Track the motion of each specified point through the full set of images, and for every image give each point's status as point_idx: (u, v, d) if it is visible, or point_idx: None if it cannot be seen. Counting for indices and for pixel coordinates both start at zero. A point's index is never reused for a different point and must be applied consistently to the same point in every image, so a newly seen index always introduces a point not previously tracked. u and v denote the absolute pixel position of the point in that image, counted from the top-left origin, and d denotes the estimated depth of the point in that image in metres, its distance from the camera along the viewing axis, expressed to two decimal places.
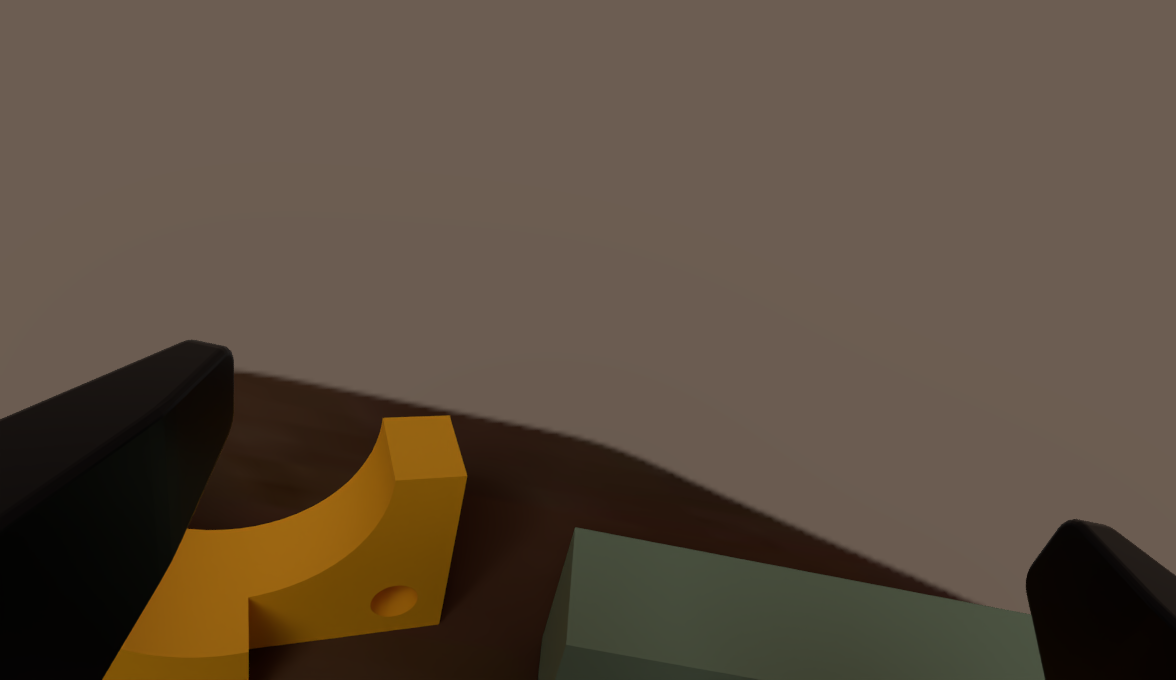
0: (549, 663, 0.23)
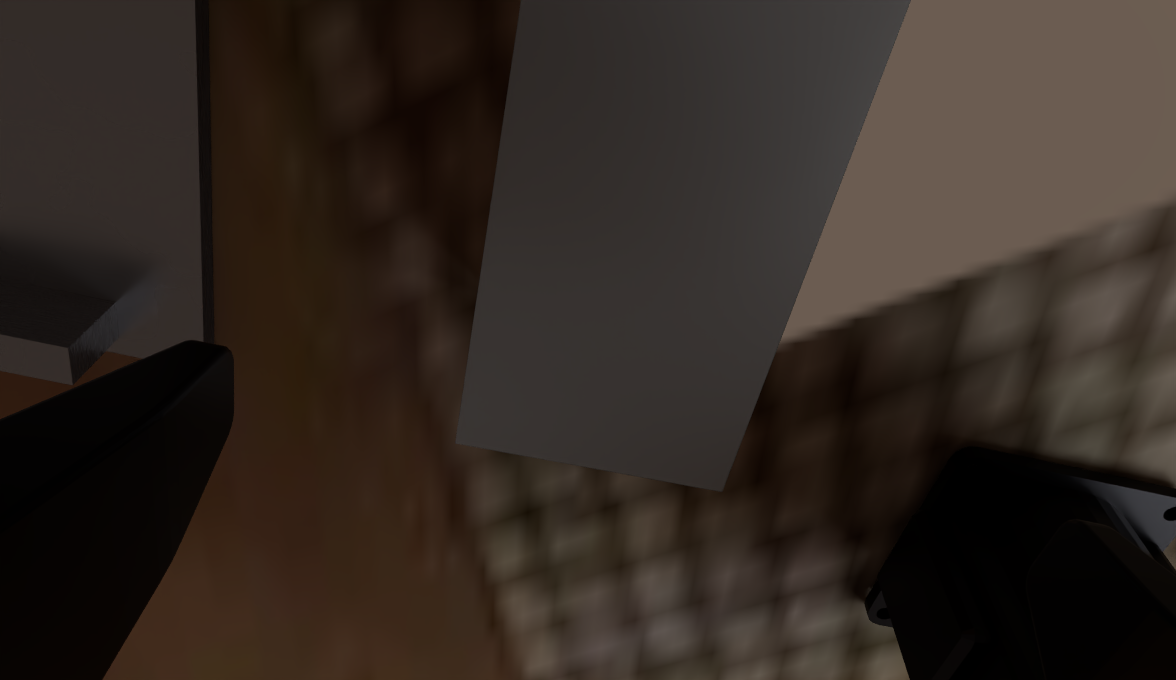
0: None
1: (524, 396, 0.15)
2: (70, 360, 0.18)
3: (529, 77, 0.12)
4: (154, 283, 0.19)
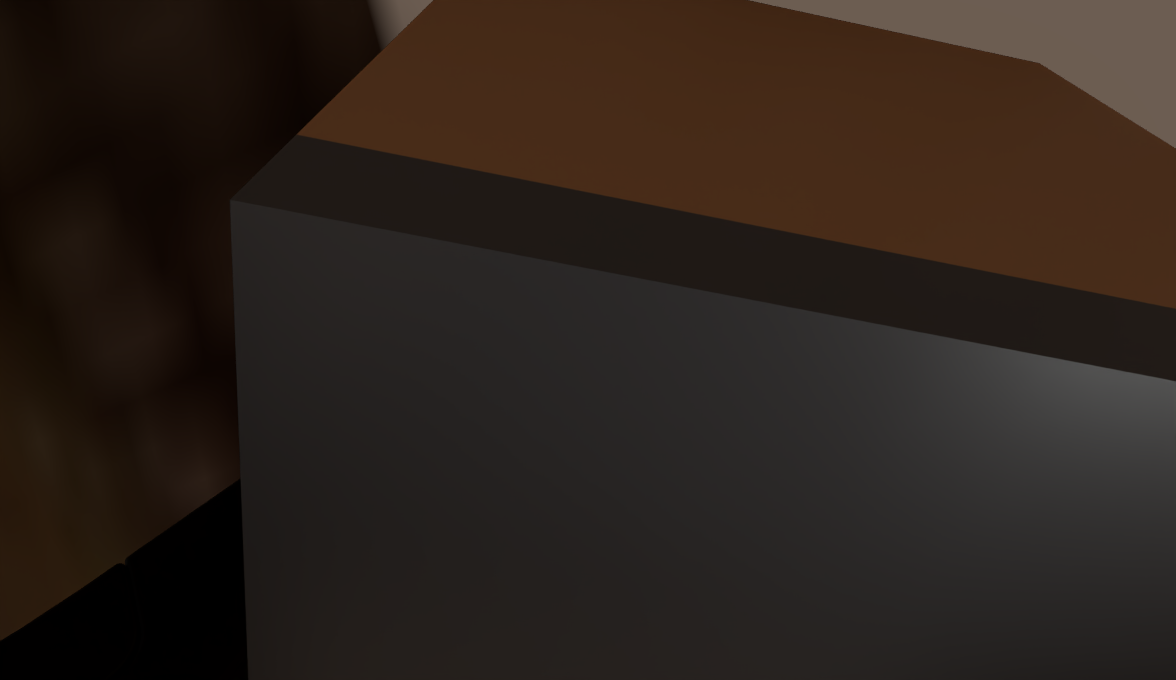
0: None
1: None
2: None
3: (310, 672, 0.04)
4: None
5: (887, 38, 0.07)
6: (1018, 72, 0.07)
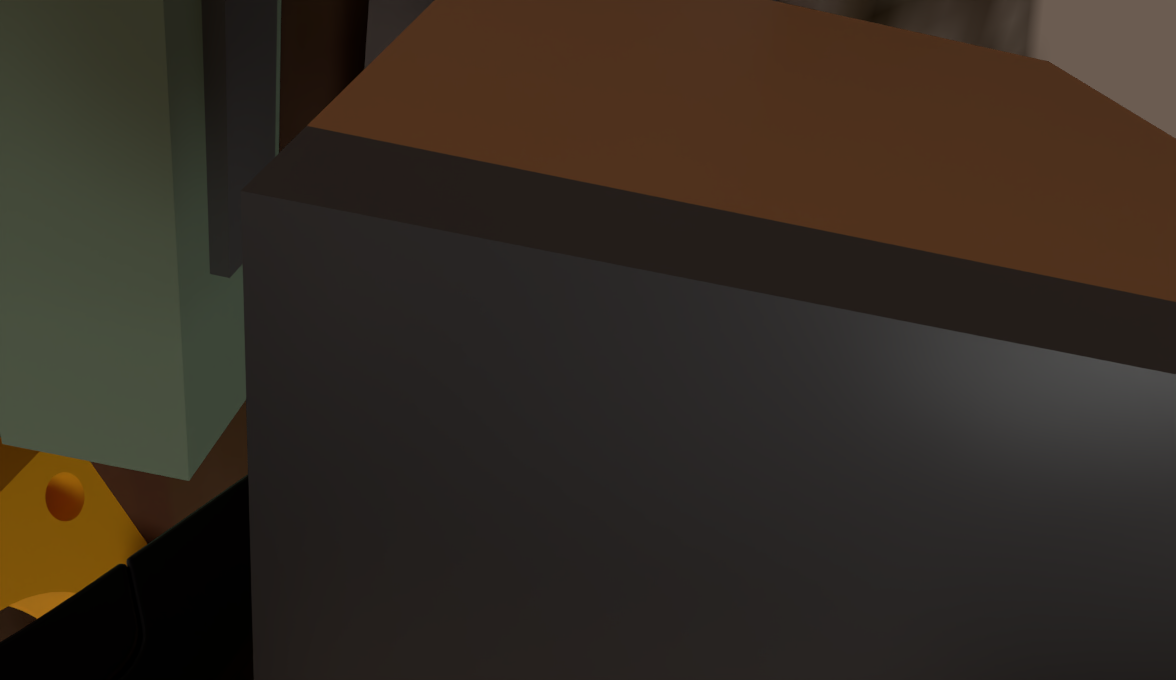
0: None
1: None
2: None
3: (316, 673, 0.04)
4: None
5: (896, 35, 0.07)
6: (1028, 70, 0.07)
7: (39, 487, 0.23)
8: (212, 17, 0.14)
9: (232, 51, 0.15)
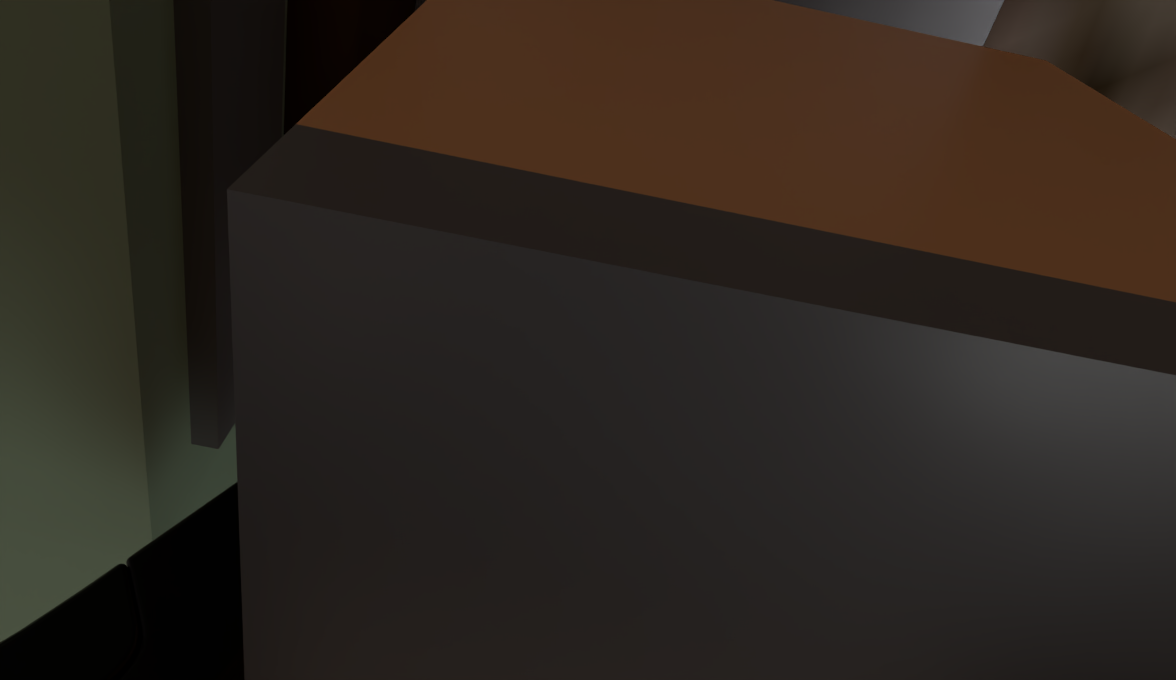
0: None
1: None
2: None
3: (307, 675, 0.04)
4: None
5: (892, 34, 0.07)
6: (1025, 69, 0.07)
7: None
8: (193, 115, 0.10)
9: (222, 159, 0.10)
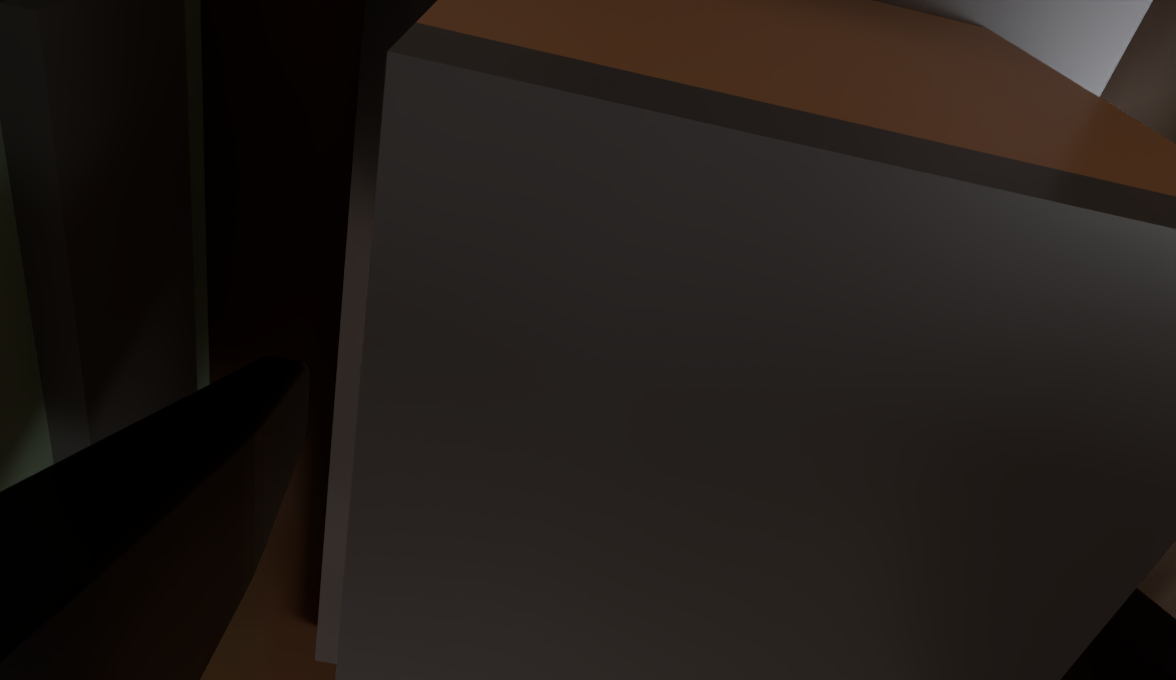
0: None
1: None
2: None
3: (402, 440, 0.05)
4: None
5: (857, 2, 0.08)
6: (966, 32, 0.08)
7: None
8: (39, 233, 0.07)
9: (88, 284, 0.08)
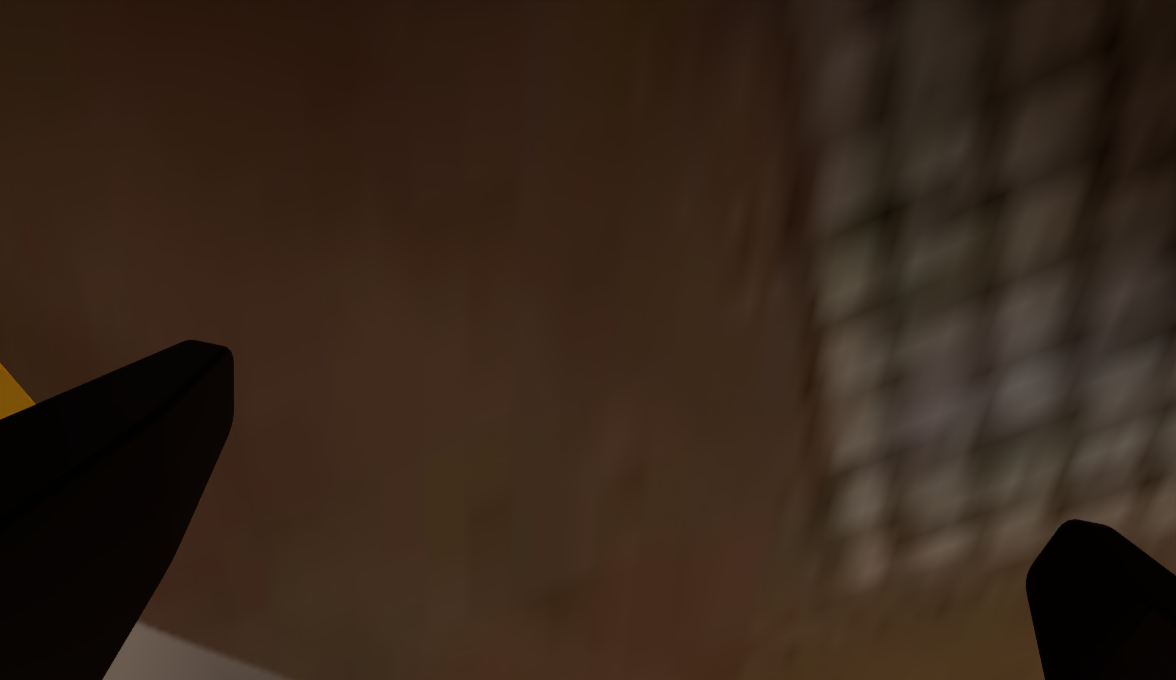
0: None
1: None
2: None
3: None
4: None
5: None
6: None
7: None
8: None
9: None
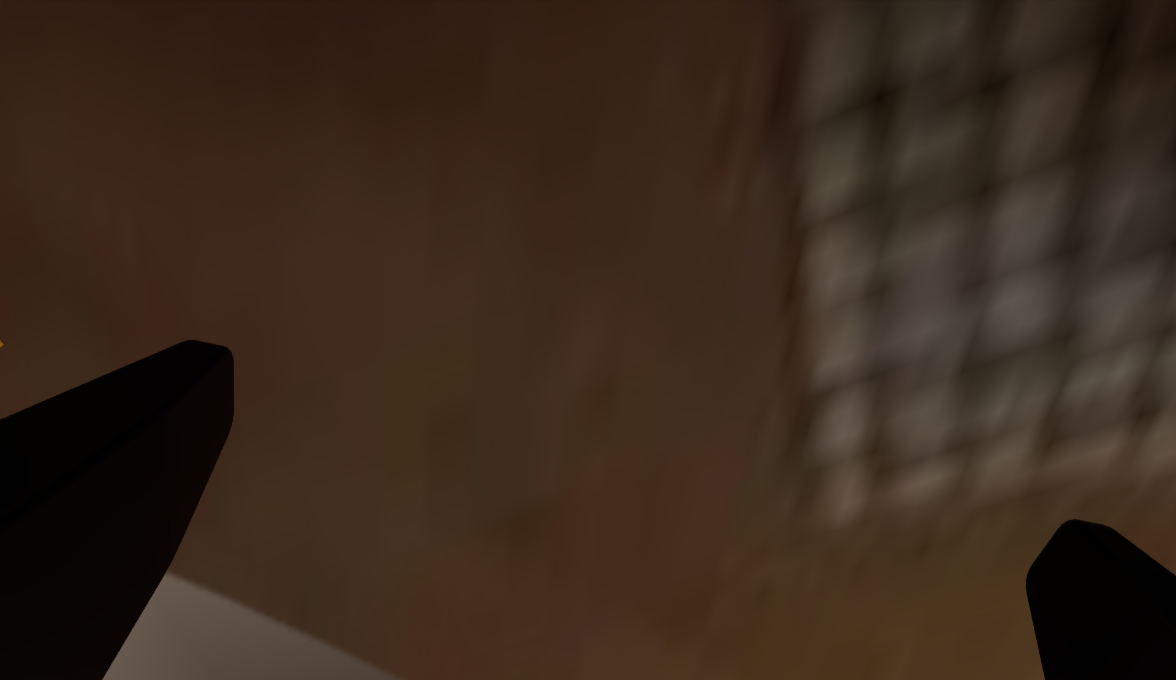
0: None
1: None
2: None
3: None
4: None
5: None
6: None
7: None
8: None
9: None
